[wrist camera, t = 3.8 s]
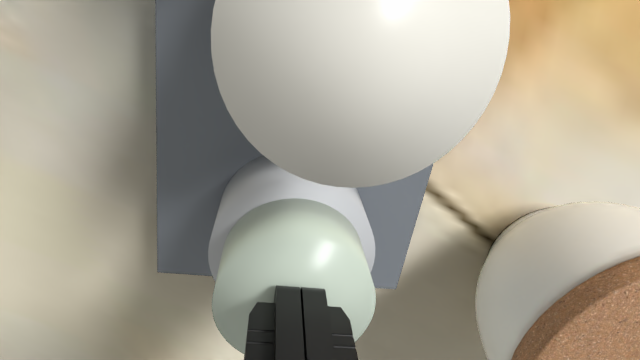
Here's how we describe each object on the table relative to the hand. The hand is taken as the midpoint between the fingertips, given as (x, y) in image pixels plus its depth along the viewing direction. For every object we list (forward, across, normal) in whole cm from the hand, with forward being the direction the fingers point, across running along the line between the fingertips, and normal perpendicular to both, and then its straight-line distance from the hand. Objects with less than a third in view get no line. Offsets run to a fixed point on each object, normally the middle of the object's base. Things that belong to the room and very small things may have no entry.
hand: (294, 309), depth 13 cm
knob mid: (0, 0, -8) cm, 8 cm away
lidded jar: (+8, -14, +2) cm, 16 cm away
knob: (+2, 0, 0) cm, 2 cm away
